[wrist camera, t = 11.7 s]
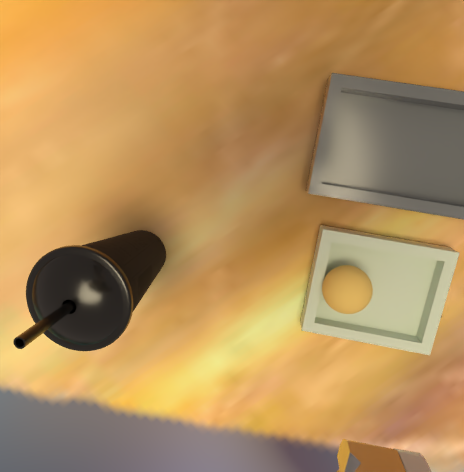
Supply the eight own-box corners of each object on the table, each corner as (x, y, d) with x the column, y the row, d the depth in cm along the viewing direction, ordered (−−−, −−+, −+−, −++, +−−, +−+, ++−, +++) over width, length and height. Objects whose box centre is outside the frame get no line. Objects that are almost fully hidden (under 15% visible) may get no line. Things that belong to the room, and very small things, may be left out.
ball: (364, 262, 38) (321, 256, 37) (387, 277, 34) (338, 270, 33) (353, 305, 39) (311, 300, 38) (374, 325, 35) (327, 319, 34)
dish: (327, 79, 36) (332, 72, 33) (513, 106, 34) (535, 101, 31) (305, 190, 38) (308, 193, 35) (479, 219, 36) (497, 225, 33)
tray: (320, 224, 38) (323, 229, 36) (448, 246, 37) (459, 252, 35) (300, 320, 40) (301, 330, 38) (421, 343, 39) (429, 355, 37)
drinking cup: (143, 200, 40) (14, 244, 20) (194, 257, 40) (116, 354, 21) (92, 248, 41) (-74, 332, 22) (141, 302, 42) (23, 431, 22)
